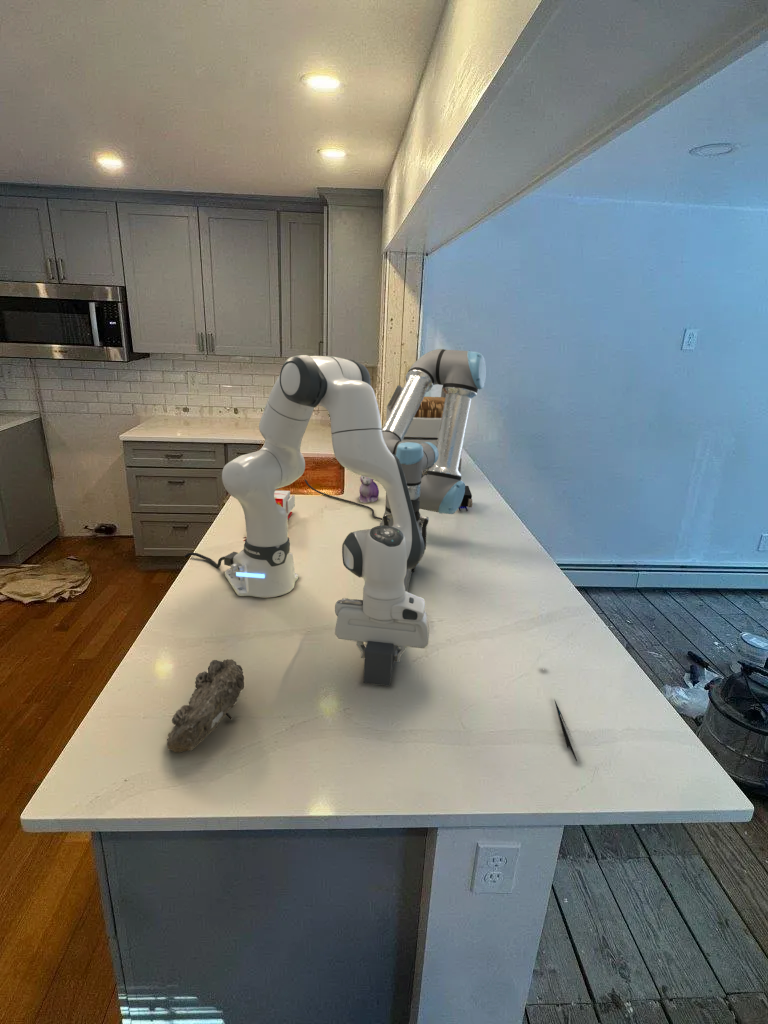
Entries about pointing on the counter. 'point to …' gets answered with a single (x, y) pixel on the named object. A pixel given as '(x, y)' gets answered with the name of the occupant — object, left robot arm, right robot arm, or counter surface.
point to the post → (381, 655)
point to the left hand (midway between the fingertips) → (380, 658)
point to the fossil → (206, 705)
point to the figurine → (368, 490)
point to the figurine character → (466, 499)
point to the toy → (285, 501)
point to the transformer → (423, 419)
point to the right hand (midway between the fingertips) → (402, 568)
